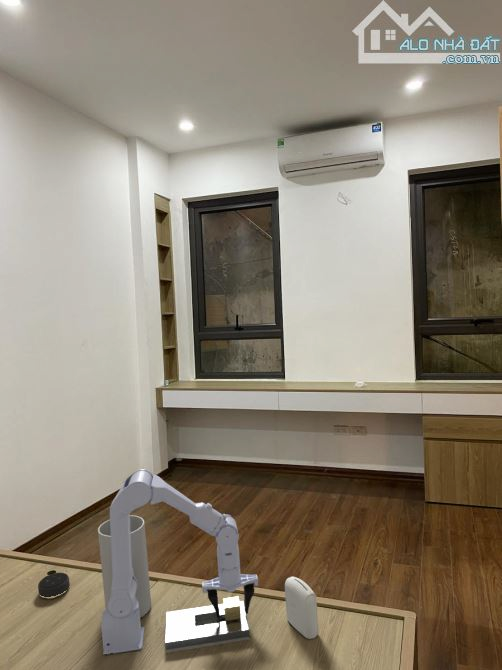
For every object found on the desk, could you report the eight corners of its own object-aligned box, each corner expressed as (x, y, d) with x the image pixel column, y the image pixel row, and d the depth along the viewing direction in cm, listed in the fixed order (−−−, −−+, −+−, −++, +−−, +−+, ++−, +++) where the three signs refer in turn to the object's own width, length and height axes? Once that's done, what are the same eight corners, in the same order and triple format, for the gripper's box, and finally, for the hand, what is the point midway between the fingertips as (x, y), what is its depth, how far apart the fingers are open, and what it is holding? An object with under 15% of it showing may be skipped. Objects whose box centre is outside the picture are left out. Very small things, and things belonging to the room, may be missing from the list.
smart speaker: (40, 587, 153) (39, 575, 153) (70, 580, 156) (69, 568, 156) (37, 603, 145) (36, 591, 145) (69, 596, 148) (67, 584, 147)
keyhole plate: (165, 653, 121) (165, 642, 121) (167, 621, 133) (166, 612, 133) (249, 639, 124) (249, 629, 124) (244, 609, 136) (243, 600, 135)
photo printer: (284, 619, 130) (281, 575, 129) (297, 613, 133) (295, 570, 132) (307, 642, 122) (304, 595, 121) (321, 635, 124) (318, 588, 123)
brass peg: (226, 629, 127) (224, 608, 126) (224, 619, 131) (223, 598, 130) (241, 627, 127) (239, 605, 127) (239, 617, 131) (238, 596, 131)
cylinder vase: (97, 622, 134) (89, 535, 132) (120, 595, 146) (112, 514, 144) (139, 627, 131) (131, 537, 129) (158, 598, 143) (151, 516, 141)
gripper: (201, 576, 123) (205, 627, 124) (258, 568, 125) (261, 619, 126) (200, 561, 130) (204, 610, 131) (254, 554, 132) (257, 602, 133)
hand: (232, 613), depth 129 cm, fingers open, 7 cm apart
